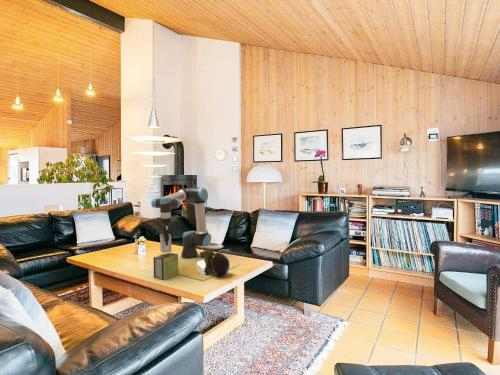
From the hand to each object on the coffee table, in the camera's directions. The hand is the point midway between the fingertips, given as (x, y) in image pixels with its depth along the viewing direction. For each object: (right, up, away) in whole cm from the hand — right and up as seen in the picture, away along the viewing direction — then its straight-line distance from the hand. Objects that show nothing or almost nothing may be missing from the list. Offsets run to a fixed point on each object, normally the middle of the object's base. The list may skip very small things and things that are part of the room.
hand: (165, 248), depth 230 cm
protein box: (0, -21, +1) cm, 21 cm away
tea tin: (0, -2, 0) cm, 2 cm away
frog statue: (+36, -21, +4) cm, 41 cm away
